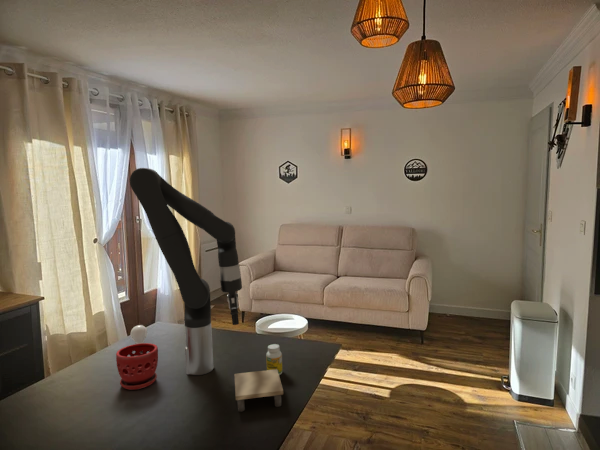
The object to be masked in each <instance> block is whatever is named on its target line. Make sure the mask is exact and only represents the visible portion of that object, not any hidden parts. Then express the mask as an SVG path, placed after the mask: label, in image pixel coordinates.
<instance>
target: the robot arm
mask: <svg viewBox="0 0 600 450" xmlns="http://www.w3.org/2000/svg"><path fill="white" fill-rule="evenodd" d="M129 185H130V188H131V190H132V192H133V193H134V195H135V196H136V198H137V199H138V202H139V203H140V205H141V206H142V208H143V211H144V212H145V214H146V217H147V220H148V223H149V226H150V228H151V231H152V233H153V235H154V237H155V240H156V242H157V244H158V246H159V249H160V250H161V251H160V252H161V253H162V254H163V257H164V258H165V260H166V262H167V264H168V266H169V268H170V270H171V271H172V274H173V275H174V279H175V281H176V283H177V287H178V290H179V293H180V295H181V299H182V302H183V305H184V315H183V316H184V317H183V318H184V319H183V320H184V334H185V335H184V336H185V351H184V352H185V353H184V354H185V367H186V368H185V369H186V370H185V371H186V375H191V376H202V375H206V374H209V373H211V372H212V371H213V369H214V355H213V352H214V351H213V335H212V334H213V332H212V307H211V304H212V303H211V288H210V285H209V284H208V282H207V281H206V280H205V279H203V278H201V277H200V275H199V273H198V270H197V269H196V266H195V264H194V260H193V255H192V251H191V249H190V244H189V242H188V240H187V239H188V238H187V237H186V234H185V232H184V230H183V228H182V226H181V224H180V221H178V219H177V217H176V216H175V215H174V213H173V212H172V210H171V209H173V210H174V211H175V212H176V213H177V214H179V215H180V216H181V217H182V218H184V219H186V221H188V222H190V223H191V224H192V225H195V226H196V227H198V228H199V229H201V230H203V231H205V232H206V233H207V234H208V235H209V236H211V237H212V238H214V239H215V240H216V245H217V251H218V252H217V261H218V272H219V273H218V274H219V281H220V291H221V292H223V293H228V294H227V295H226V296H227V297H226V301H227V302H228V308H229V310H230V316H231V320H232V321H231V322H232V325H233V326H235V325H239V324H240V323H239V321H240V320H239V310H238V309H239V307H240V306H239V299H240V298H239V293H238V291H241V290H242V289H243V283H242V273H241V267H240V262H239V255H238V251H237V244H236V243H237V242H236V241H237V240H236V229H235V227H234V225H233V224H232V223H231V222H229V221H225V220H223V219H222V218H220V217H218V216H217V215H216V214H214V212H212V211H211V210H210V209H208V208H207V207H205V206H203V205H202V204H201V203H199V202H197V201H195V200H194V199H193V198H190V197H189V196H187V195H186V194H184V193H182V192H181V191H179V190H178V189H176V188H175V187H173V186H172V185H171V184H170V183H169V182H167V181H166V180H165V179H164V178H163V176H161V175H160V174H159V173H158V172H157V170H154V169H152V168H149V167H138V168H136V169H134V170H133V171H132V172H131V174H130V178H129ZM169 207H170V208H169Z"/></svg>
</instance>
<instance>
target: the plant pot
mask: <svg viewBox="0 0 600 450" xmlns="http://www.w3.org/2000/svg"><path fill="white" fill-rule="evenodd" d="M158 348H159V347H158V346H157V344H154V343H150V342H148V343H147V342H146V343H145V342H144V343H141V344H130V345H127V346H125V347H122V348H120V349H118V350H117V352H116V353H115V355H116V356H115V358H116V360H115V361H116V368H117V372H118V375H119V377H120V381H119V383H120V386H121V387H123V389H126V390H131V391H132V390H136V391H137V390H141V389H143V388H148V387H149V386H151V385H153V384H154V382H155V381H156V380H157V377H158V375H157V373H156V371H157V368H158V364H159V363H158V361H159V349H158ZM141 351H142V352H141Z"/></svg>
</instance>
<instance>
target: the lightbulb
mask: <svg viewBox="0 0 600 450" xmlns="http://www.w3.org/2000/svg"><path fill="white" fill-rule="evenodd" d="M147 336H148V329H147V327H146V326H144V325H143V324H138V325H135V326H133V328H131V331H130V338H131V339H132V340H133V341H134V343H135V344H141V343H145V340H146V338H147ZM140 353H143V351H141V352H140Z"/></svg>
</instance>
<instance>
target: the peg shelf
mask: <svg viewBox="0 0 600 450" xmlns="http://www.w3.org/2000/svg"><path fill="white" fill-rule="evenodd" d="M234 391H235V392H234V393H235V401H237V411H238V412H244V411H245V410H246V407H245V400H248V399H250V400H251V399H256V398H263V397H264V398H265V397H273V398H274V406H275V407H276V408H279V407H281V406H282V396H283V395H284V389H283V385H282V382H281V378H280V375H279V374H278V371H277V369H274V370H267V369H266V370H257V371H249V372H240V373H234Z"/></svg>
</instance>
